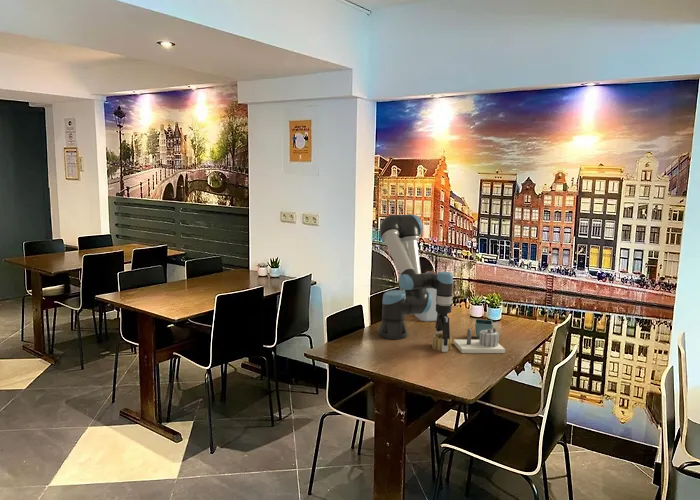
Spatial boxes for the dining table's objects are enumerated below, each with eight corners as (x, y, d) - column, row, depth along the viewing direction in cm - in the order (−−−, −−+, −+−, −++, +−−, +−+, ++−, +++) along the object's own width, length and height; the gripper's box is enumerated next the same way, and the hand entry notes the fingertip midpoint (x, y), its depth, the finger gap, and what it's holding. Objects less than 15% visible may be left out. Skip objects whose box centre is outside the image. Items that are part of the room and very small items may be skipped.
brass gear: (434, 351, 251) (435, 338, 250) (430, 345, 260) (430, 333, 259) (453, 351, 252) (453, 339, 251) (448, 345, 261) (448, 333, 260)
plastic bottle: (412, 315, 317) (414, 270, 313) (436, 314, 319) (438, 269, 316) (420, 322, 302) (422, 274, 298) (445, 321, 305) (447, 274, 301)
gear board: (461, 353, 249) (463, 332, 248) (453, 343, 264) (454, 324, 263) (504, 353, 251) (506, 332, 249) (494, 343, 265) (495, 324, 264)
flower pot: (492, 341, 268) (493, 324, 267) (474, 340, 270) (475, 323, 269) (491, 336, 277) (492, 320, 276) (473, 335, 279) (474, 318, 278)
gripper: (458, 309, 242) (455, 355, 244) (445, 298, 265) (443, 340, 268) (442, 309, 241) (439, 355, 244) (430, 298, 264) (428, 340, 267)
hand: (441, 347), depth 256 cm, fingers open, 11 cm apart
